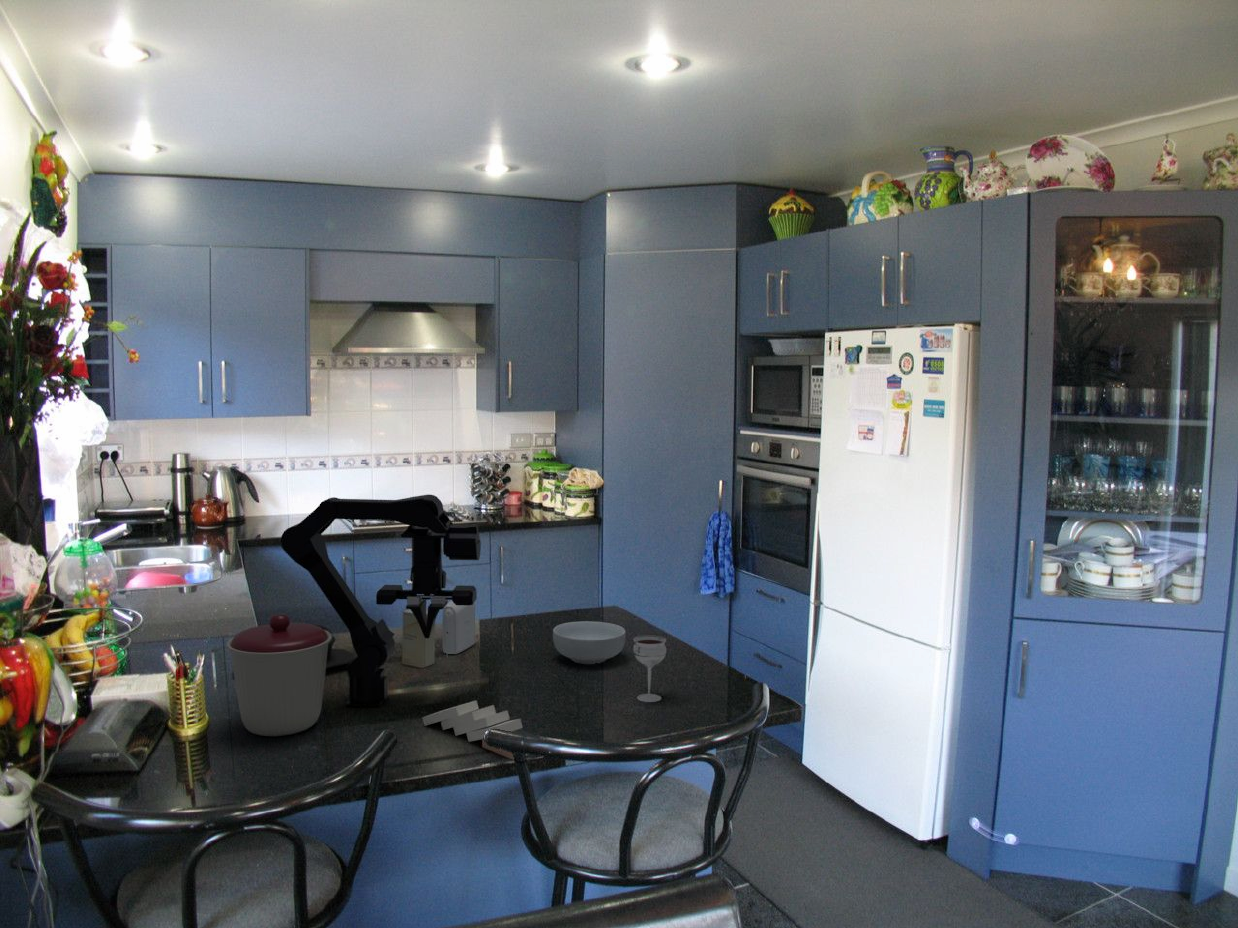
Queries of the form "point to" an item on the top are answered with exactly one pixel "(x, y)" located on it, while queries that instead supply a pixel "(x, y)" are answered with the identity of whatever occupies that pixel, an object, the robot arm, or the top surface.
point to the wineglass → (649, 658)
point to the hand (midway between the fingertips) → (427, 637)
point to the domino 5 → (498, 751)
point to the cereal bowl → (589, 641)
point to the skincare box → (416, 643)
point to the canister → (279, 675)
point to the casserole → (336, 653)
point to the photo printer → (458, 627)
